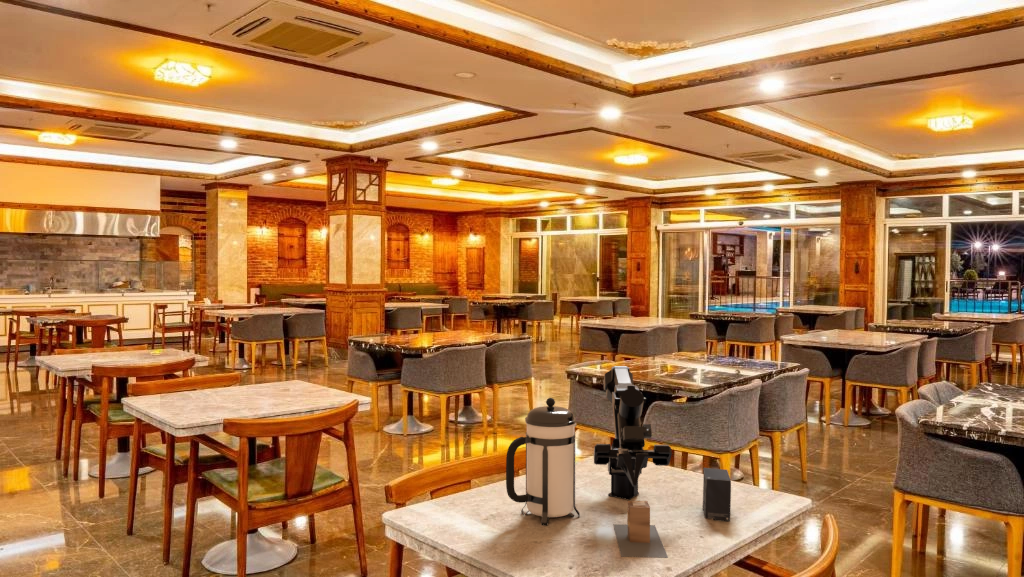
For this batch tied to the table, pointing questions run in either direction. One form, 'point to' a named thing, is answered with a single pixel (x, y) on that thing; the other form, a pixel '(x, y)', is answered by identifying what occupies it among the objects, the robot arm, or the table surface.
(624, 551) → the mat
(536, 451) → the coffee press
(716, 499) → the small box
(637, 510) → the brown rectangular block
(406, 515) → the table surface
